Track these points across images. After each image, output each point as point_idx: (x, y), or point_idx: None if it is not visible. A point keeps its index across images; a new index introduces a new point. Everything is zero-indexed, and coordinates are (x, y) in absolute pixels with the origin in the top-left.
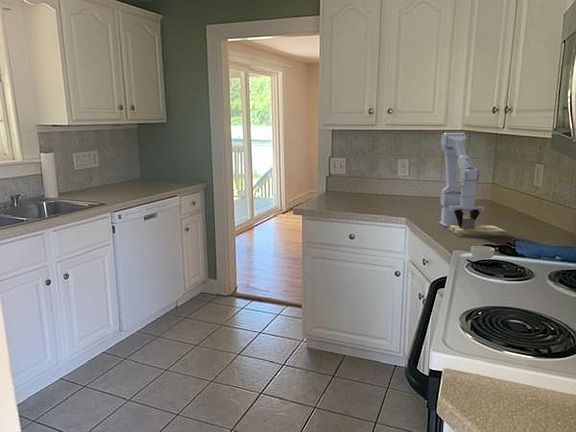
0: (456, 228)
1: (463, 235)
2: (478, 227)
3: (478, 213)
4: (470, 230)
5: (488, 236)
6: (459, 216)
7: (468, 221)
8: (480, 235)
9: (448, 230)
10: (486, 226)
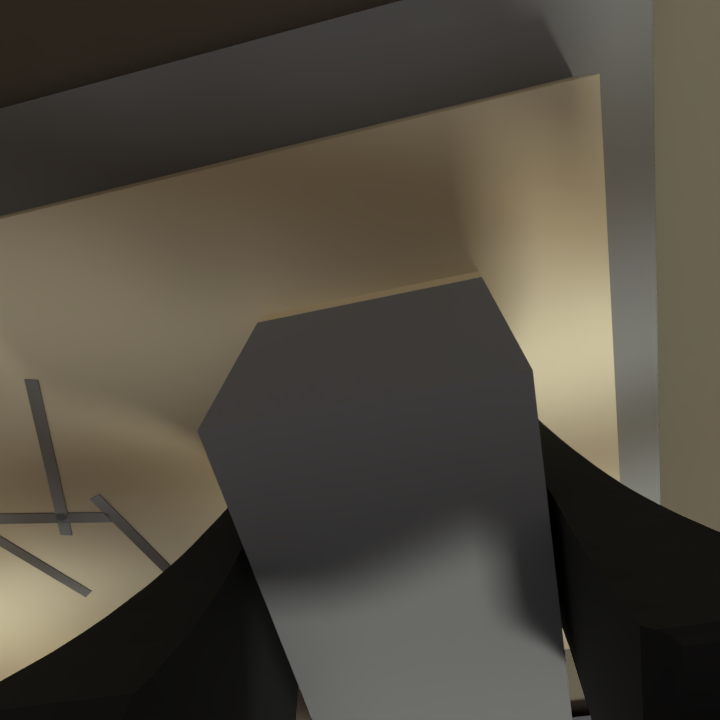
0: (589, 404)
1: (518, 37)
2: (170, 555)
3: (6, 695)
4: (342, 263)
5: (17, 105)
6: (707, 535)
7: (397, 369)
8: (165, 133)
9: (655, 484)
10: (49, 642)
